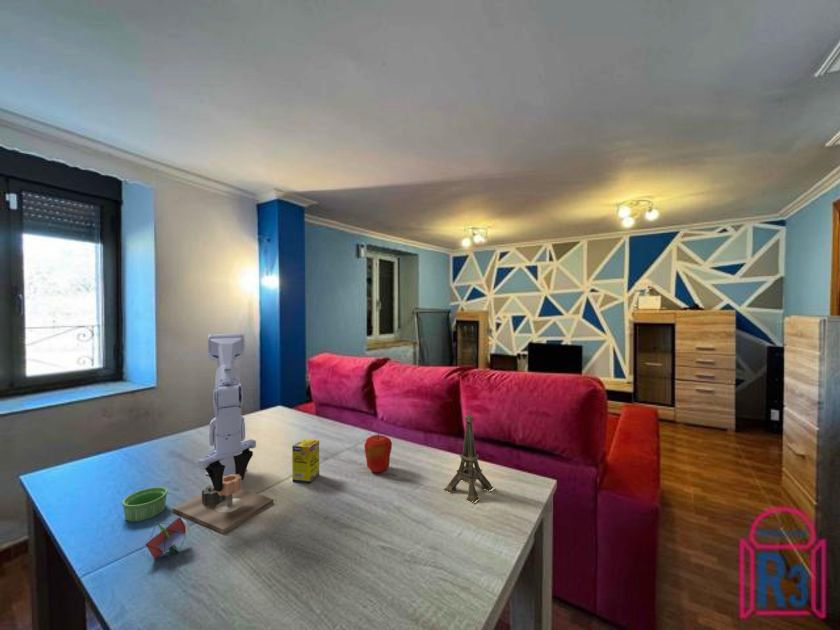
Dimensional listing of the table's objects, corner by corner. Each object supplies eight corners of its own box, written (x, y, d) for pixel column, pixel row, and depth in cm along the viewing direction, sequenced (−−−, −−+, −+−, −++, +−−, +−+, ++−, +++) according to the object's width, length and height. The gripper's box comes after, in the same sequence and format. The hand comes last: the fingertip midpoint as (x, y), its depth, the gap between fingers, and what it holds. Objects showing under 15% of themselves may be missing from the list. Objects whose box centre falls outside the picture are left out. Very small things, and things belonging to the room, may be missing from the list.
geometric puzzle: (144, 564, 67) (172, 518, 71) (130, 551, 70) (157, 508, 74) (178, 567, 72) (202, 524, 76) (163, 555, 75) (187, 515, 79)
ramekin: (117, 527, 82) (117, 509, 81) (128, 508, 89) (128, 491, 89) (164, 517, 86) (163, 499, 86) (170, 499, 94) (170, 483, 94)
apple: (359, 473, 108) (359, 436, 108) (373, 462, 116) (372, 427, 115) (384, 478, 105) (383, 439, 104) (396, 466, 112) (396, 430, 112)
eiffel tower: (443, 490, 98) (443, 403, 97) (465, 477, 105) (464, 396, 105) (474, 504, 91) (474, 410, 90) (495, 489, 98) (495, 402, 98)
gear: (212, 492, 87) (212, 481, 87) (232, 483, 92) (232, 472, 92) (226, 497, 85) (226, 485, 85) (246, 487, 90) (245, 476, 90)
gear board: (172, 511, 88) (172, 494, 88) (224, 486, 100) (224, 471, 100) (223, 533, 79) (223, 514, 79) (273, 502, 92) (273, 486, 91)
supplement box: (310, 484, 101) (309, 447, 101) (291, 482, 103) (291, 445, 103) (320, 474, 107) (319, 439, 107) (302, 472, 109) (302, 438, 108)
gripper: (210, 444, 80) (211, 502, 80) (263, 425, 93) (264, 475, 93) (192, 440, 83) (193, 495, 83) (245, 422, 96) (246, 470, 96)
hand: (229, 484), depth 89 cm, fingers closed on gear, 5 cm apart
